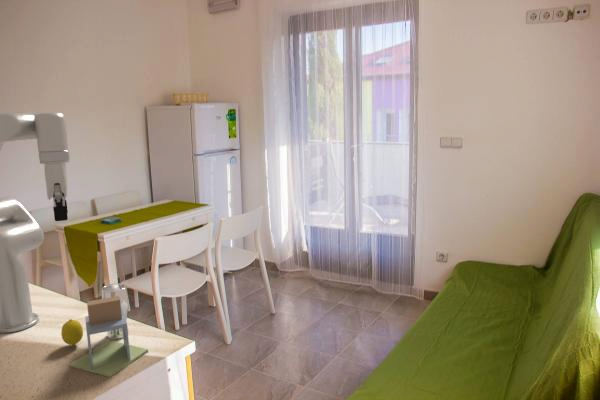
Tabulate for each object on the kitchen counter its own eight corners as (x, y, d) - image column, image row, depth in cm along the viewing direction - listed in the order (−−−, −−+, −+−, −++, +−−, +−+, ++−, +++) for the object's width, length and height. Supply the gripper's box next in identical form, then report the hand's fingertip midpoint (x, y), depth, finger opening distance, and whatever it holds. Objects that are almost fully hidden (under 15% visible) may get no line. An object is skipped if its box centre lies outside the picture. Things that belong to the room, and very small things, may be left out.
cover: (89, 352, 133) (82, 297, 130) (126, 344, 137) (121, 291, 134) (91, 369, 125) (84, 311, 121) (130, 360, 129) (125, 303, 125)
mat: (70, 365, 128) (69, 363, 128) (110, 342, 140) (110, 340, 140) (109, 377, 122) (109, 375, 122) (148, 351, 134) (148, 349, 134)
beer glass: (100, 338, 143) (95, 290, 140) (117, 328, 149) (112, 281, 146) (120, 341, 140) (114, 292, 137) (135, 331, 147) (131, 284, 144)
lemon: (76, 350, 136) (73, 324, 134) (58, 349, 137) (55, 323, 135) (88, 341, 141) (85, 315, 139) (71, 340, 142) (68, 314, 140)
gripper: (40, 155, 141) (48, 212, 144) (37, 161, 126) (45, 225, 129) (69, 154, 144) (75, 210, 148) (69, 159, 129) (76, 221, 132)
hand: (61, 217), depth 138 cm, fingers open, 9 cm apart
